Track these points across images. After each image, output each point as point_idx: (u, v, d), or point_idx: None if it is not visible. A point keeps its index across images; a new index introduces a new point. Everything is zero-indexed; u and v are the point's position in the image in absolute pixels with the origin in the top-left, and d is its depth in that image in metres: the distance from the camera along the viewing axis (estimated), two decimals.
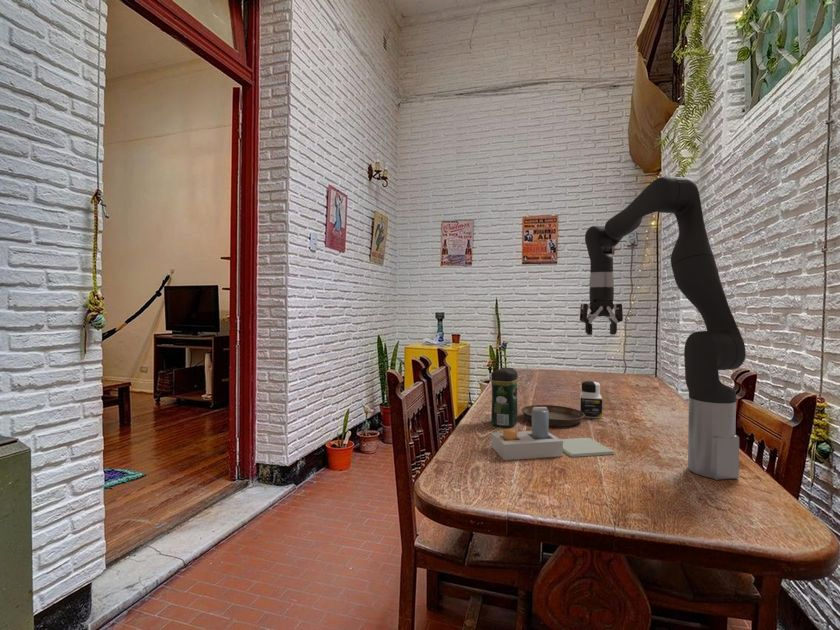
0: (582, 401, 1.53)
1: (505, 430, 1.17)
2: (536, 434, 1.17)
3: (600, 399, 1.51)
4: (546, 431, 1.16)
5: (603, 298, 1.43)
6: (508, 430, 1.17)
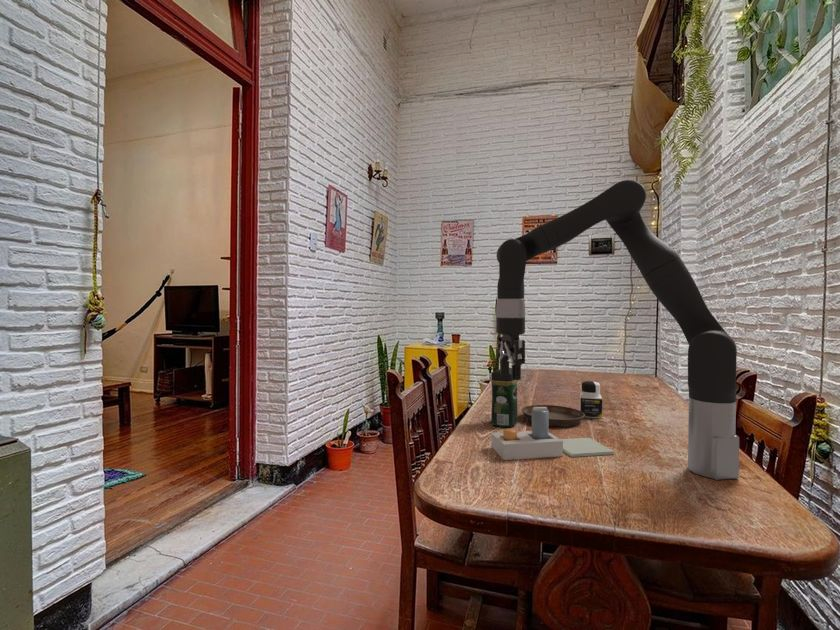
0: (582, 401, 1.53)
1: (505, 430, 1.17)
2: (536, 434, 1.17)
3: (600, 399, 1.51)
4: (546, 431, 1.16)
5: (524, 331, 1.15)
6: (508, 430, 1.17)
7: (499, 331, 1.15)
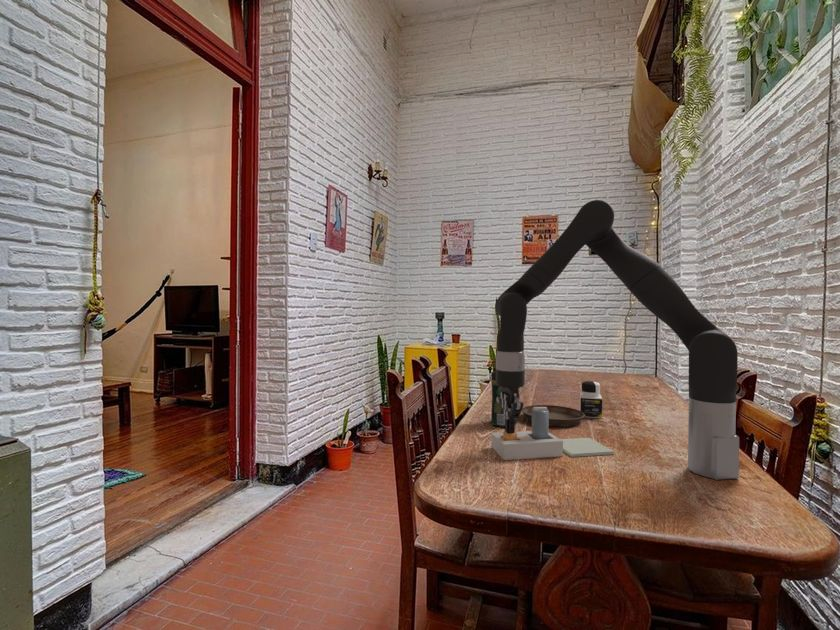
0: (582, 401, 1.53)
1: (505, 432, 1.17)
2: (536, 434, 1.17)
3: (600, 399, 1.51)
4: (546, 431, 1.16)
5: (524, 383, 1.16)
6: None
7: (498, 383, 1.15)
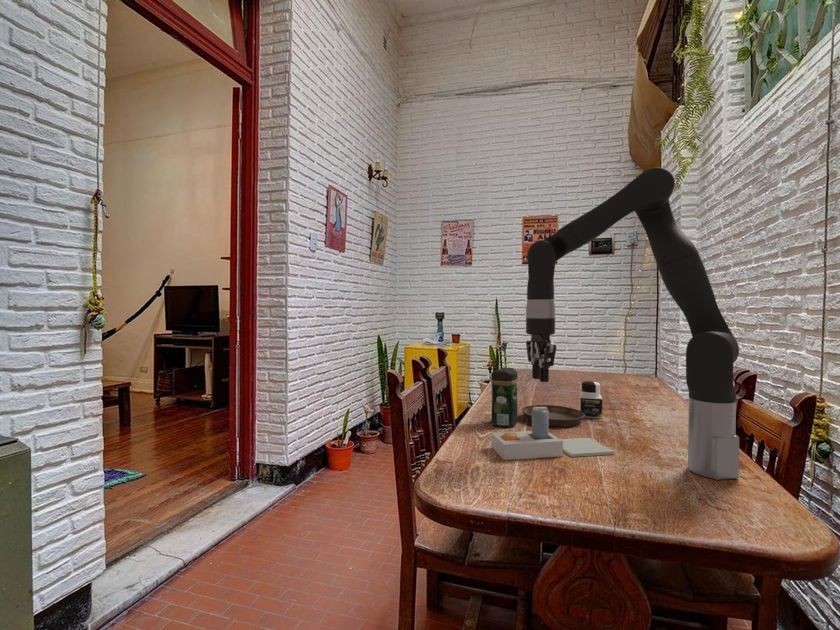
0: (582, 401, 1.53)
1: (505, 434, 1.17)
2: (536, 434, 1.17)
3: (600, 399, 1.51)
4: (546, 431, 1.16)
5: (554, 332, 1.17)
6: (508, 434, 1.17)
7: (529, 331, 1.16)
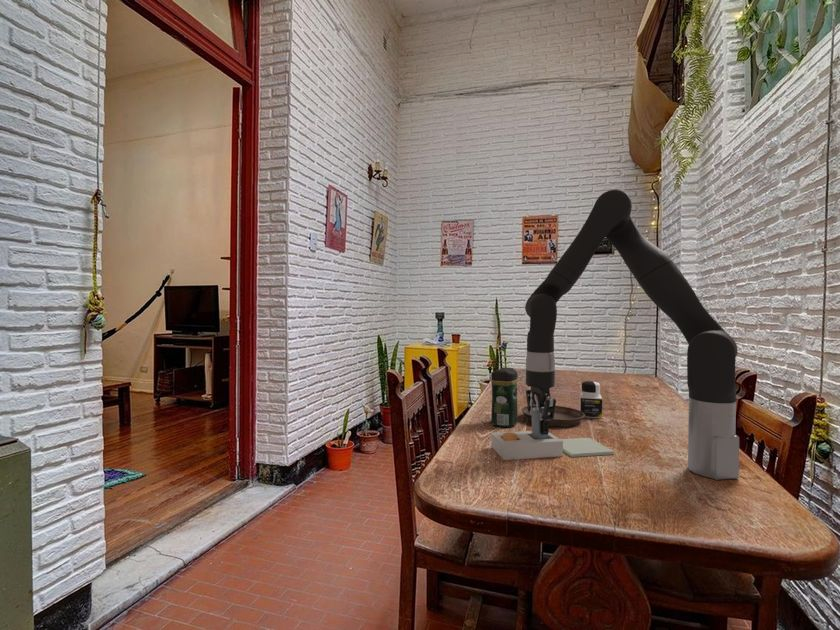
0: (582, 401, 1.53)
1: (505, 434, 1.17)
2: (536, 434, 1.17)
3: (600, 399, 1.51)
4: None
5: (554, 384, 1.17)
6: (508, 434, 1.17)
7: (529, 384, 1.16)
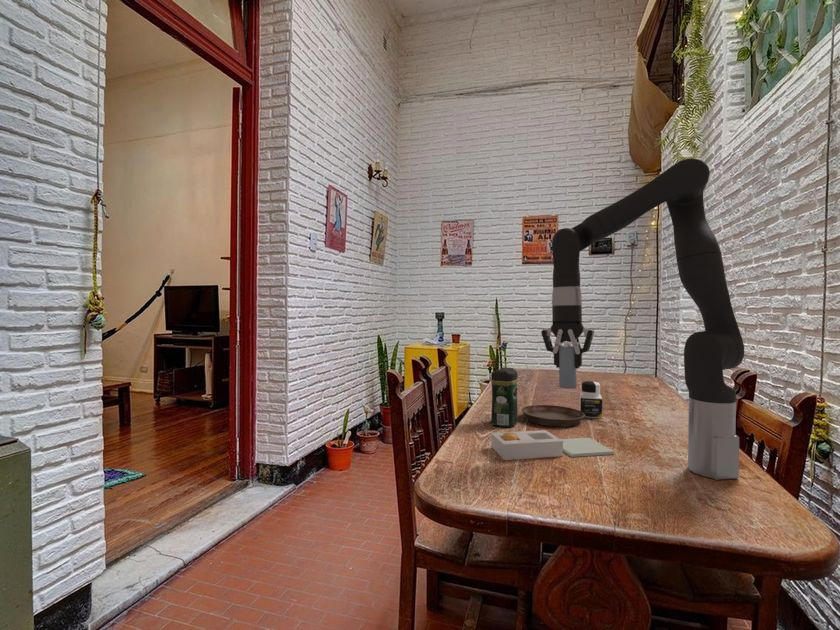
0: (582, 401, 1.53)
1: (505, 434, 1.17)
2: (571, 370, 1.16)
3: (600, 399, 1.51)
4: None
5: None
6: (508, 434, 1.17)
7: (567, 318, 1.14)
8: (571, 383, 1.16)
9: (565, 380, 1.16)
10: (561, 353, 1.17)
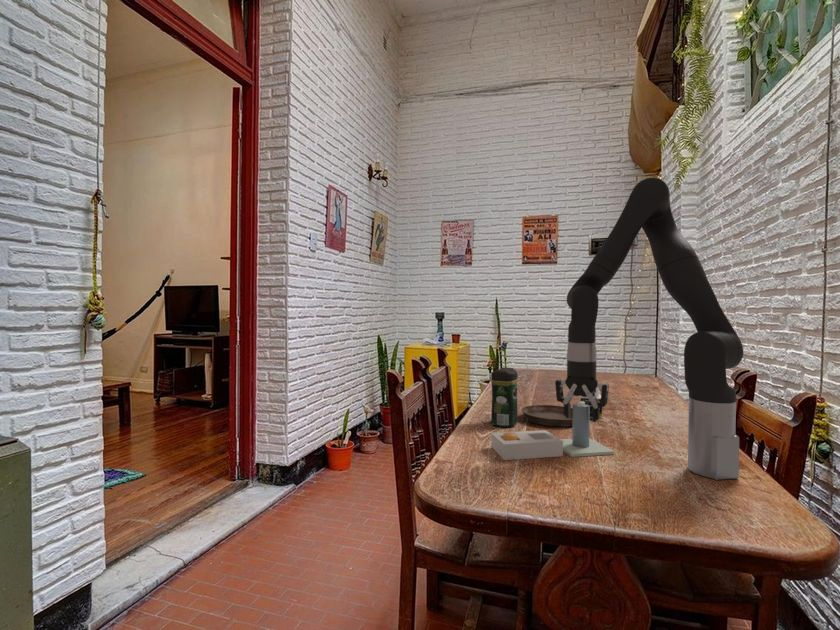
0: None
1: (505, 434, 1.17)
2: (584, 429, 1.18)
3: (600, 399, 1.51)
4: None
5: None
6: (508, 434, 1.17)
7: (582, 375, 1.16)
8: (583, 442, 1.18)
9: (578, 440, 1.19)
10: (574, 412, 1.19)
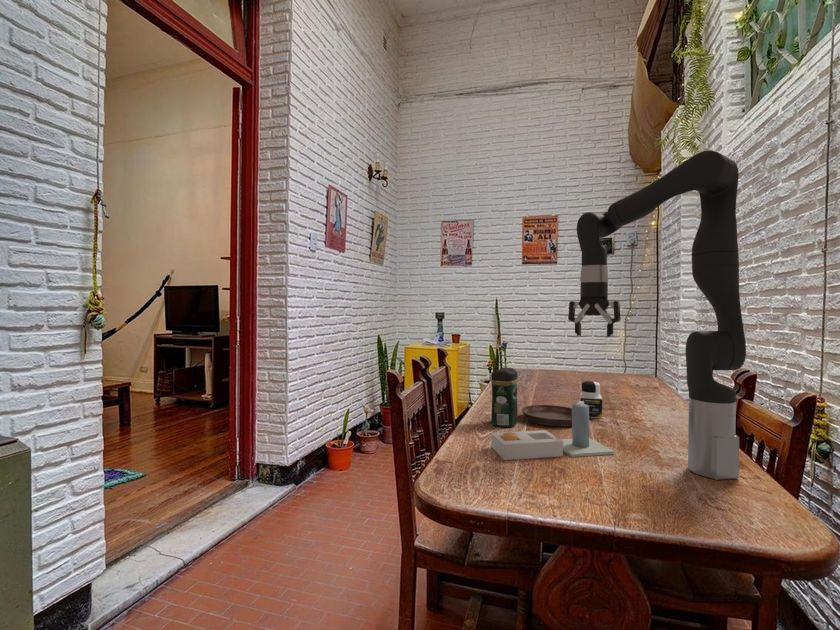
0: None
1: (505, 434, 1.17)
2: (583, 429, 1.18)
3: (600, 399, 1.51)
4: None
5: None
6: (508, 434, 1.17)
7: (594, 294, 1.26)
8: (583, 442, 1.18)
9: (577, 439, 1.19)
10: (574, 412, 1.19)
